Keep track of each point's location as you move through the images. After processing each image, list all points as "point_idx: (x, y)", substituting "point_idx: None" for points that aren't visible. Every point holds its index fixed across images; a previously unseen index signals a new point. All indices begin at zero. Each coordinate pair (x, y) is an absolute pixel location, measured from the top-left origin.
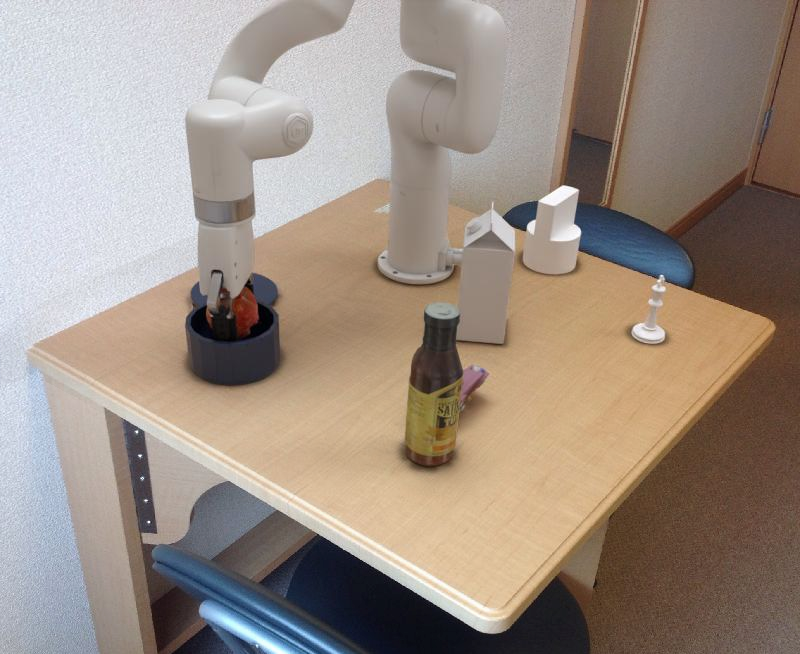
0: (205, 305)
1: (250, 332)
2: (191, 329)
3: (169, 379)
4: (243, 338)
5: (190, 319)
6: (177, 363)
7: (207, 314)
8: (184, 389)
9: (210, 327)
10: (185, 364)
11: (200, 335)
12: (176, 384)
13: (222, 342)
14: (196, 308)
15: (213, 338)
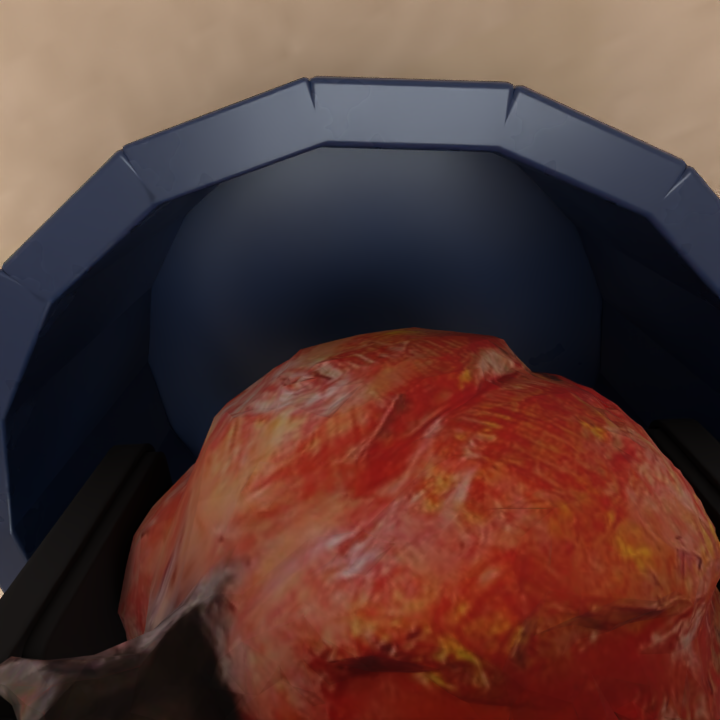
0: (628, 206)
1: (609, 391)
2: (72, 257)
3: (49, 52)
4: (575, 345)
5: (262, 161)
6: (237, 24)
7: (224, 438)
8: (4, 194)
9: (554, 185)
10: (245, 87)
11: (18, 383)
12: (24, 123)
13: (16, 574)
14: (534, 129)
15: (110, 450)
